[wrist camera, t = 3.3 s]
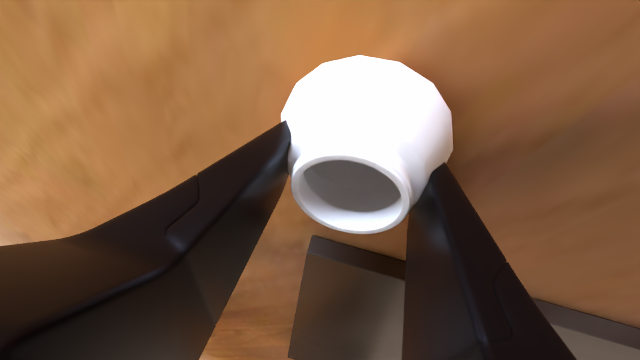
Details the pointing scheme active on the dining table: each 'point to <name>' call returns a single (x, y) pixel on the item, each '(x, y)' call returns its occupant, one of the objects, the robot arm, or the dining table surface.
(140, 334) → the robot arm
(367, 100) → the lidless jar
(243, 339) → the dining table surface
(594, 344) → the serving board
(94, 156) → the dining table surface
